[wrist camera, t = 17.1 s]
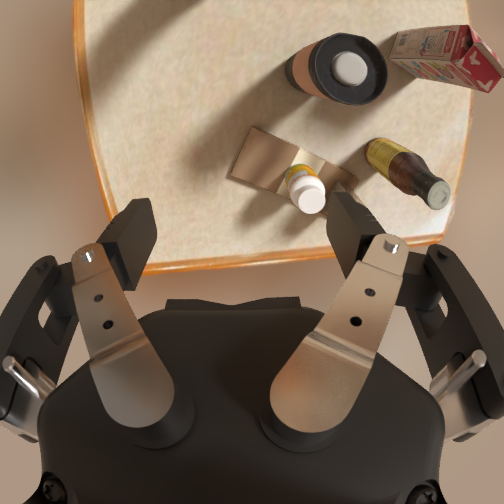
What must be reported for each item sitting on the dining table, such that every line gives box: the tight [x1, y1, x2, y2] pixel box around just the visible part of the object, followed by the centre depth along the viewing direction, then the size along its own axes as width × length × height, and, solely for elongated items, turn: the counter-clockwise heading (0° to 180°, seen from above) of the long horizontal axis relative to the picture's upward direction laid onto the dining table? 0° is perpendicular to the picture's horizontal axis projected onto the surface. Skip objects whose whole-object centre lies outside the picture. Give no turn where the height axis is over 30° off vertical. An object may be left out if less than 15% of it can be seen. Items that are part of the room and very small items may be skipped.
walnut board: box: [231, 127, 359, 215], centre depth 45 cm, size 21×9×1 cm, turn 66°
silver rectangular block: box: [324, 179, 366, 211], centre depth 43 cm, size 3×5×8 cm, turn 156°
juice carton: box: [388, 25, 504, 93], centre depth 22 cm, size 7×7×22 cm
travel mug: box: [285, 33, 388, 105], centre depth 27 cm, size 8×8×20 cm
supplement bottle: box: [285, 163, 325, 214], centre depth 41 cm, size 5×5×10 cm
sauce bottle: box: [365, 138, 451, 210], centre depth 35 cm, size 7×6×20 cm
